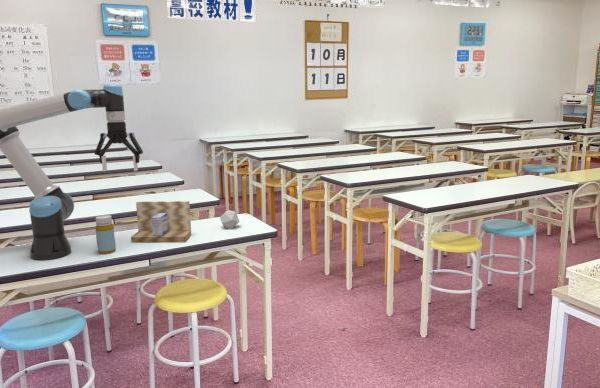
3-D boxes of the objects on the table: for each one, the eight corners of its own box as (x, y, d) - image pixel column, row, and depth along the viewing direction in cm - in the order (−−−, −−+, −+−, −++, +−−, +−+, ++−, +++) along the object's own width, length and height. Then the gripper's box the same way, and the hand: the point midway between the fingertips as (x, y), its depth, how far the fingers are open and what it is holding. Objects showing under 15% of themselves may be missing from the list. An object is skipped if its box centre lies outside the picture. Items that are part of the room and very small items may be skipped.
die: (225, 225, 253) (214, 212, 246) (240, 216, 252) (230, 203, 246) (228, 235, 246) (218, 222, 240) (244, 226, 246) (234, 212, 240)
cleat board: (131, 242, 225) (128, 207, 221) (139, 235, 236) (137, 201, 233) (185, 242, 224) (183, 206, 221) (191, 234, 235) (189, 201, 232)
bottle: (117, 248, 217) (113, 214, 214) (114, 253, 210) (110, 218, 207) (99, 249, 216) (96, 215, 213) (96, 254, 209) (92, 219, 206)
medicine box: (162, 236, 225) (160, 217, 223) (152, 235, 226) (151, 217, 224) (168, 231, 233) (167, 212, 231) (159, 231, 233) (157, 212, 231)
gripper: (83, 122, 213) (88, 172, 218) (142, 121, 213) (146, 171, 217) (90, 121, 221) (95, 169, 225) (147, 120, 220) (151, 168, 224)
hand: (120, 170), depth 221 cm, fingers open, 13 cm apart
